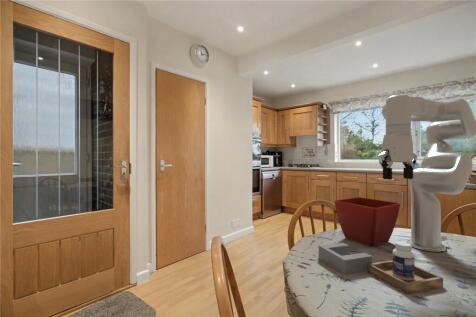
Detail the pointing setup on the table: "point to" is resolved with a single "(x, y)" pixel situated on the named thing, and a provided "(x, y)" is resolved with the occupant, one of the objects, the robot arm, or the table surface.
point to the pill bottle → (403, 261)
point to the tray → (420, 282)
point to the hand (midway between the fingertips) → (398, 179)
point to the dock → (344, 258)
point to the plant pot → (367, 219)
